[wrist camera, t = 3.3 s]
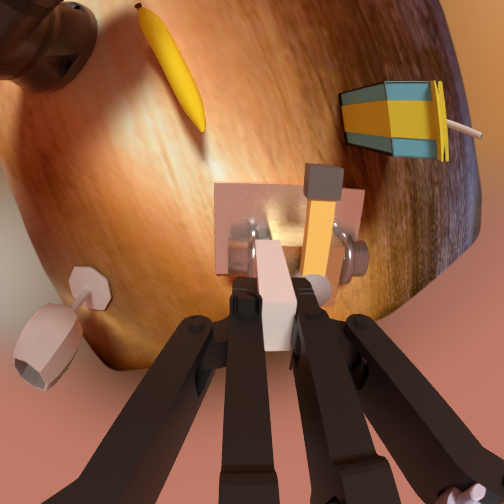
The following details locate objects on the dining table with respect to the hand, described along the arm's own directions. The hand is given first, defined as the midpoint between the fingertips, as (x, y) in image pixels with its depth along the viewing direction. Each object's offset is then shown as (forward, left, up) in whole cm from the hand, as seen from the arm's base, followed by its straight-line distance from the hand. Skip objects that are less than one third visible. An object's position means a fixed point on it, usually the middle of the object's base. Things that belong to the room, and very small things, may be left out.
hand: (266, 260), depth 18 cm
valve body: (+5, -6, -21) cm, 22 cm away
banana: (-10, +16, -21) cm, 28 cm away
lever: (+6, -3, -11) cm, 13 cm away
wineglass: (-27, -16, -21) cm, 38 cm away
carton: (+15, +11, -21) cm, 28 cm away
